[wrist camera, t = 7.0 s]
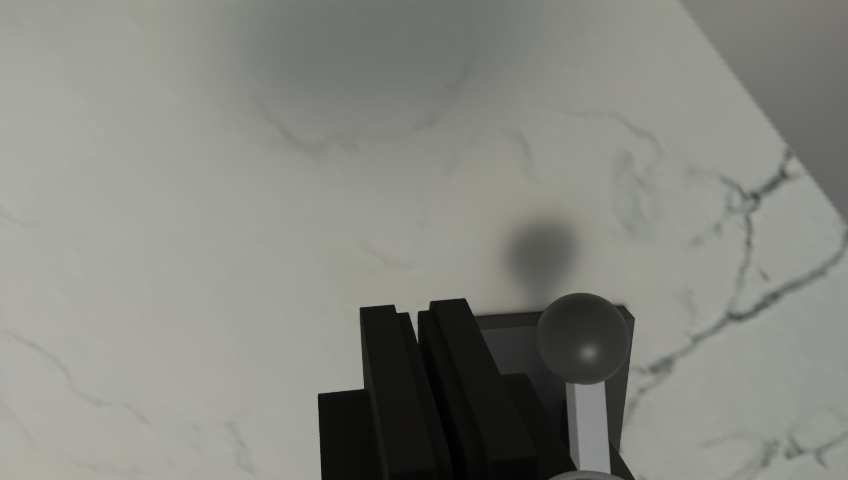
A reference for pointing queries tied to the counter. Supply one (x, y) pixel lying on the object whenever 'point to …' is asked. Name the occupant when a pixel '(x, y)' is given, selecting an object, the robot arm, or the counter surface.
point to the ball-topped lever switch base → (518, 353)
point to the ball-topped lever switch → (584, 368)
